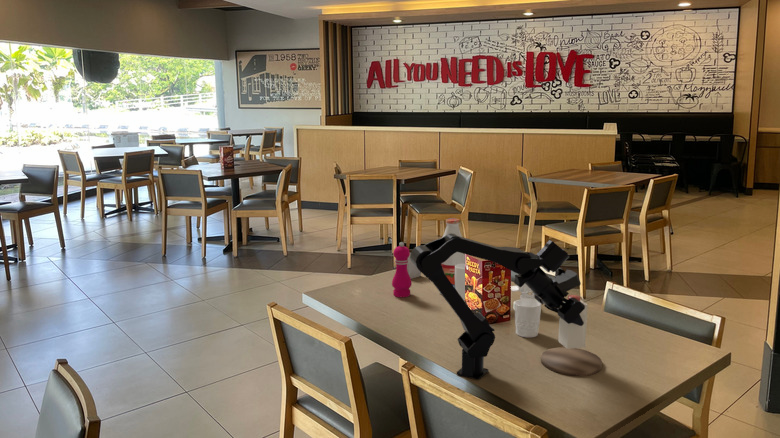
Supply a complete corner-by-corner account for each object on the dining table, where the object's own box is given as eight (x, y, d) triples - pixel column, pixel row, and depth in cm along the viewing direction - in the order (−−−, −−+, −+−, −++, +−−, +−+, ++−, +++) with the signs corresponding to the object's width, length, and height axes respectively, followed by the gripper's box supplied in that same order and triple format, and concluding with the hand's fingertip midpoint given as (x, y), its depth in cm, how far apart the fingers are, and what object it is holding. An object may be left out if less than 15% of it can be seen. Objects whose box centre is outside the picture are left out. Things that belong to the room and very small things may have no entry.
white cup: (521, 327, 197) (522, 296, 195) (544, 332, 192) (545, 301, 190) (509, 334, 191) (510, 303, 189) (532, 340, 186) (533, 308, 184)
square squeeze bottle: (585, 347, 167) (588, 299, 165) (567, 348, 166) (569, 300, 164) (575, 339, 172) (578, 293, 170) (558, 341, 171) (560, 294, 169)
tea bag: (420, 275, 254) (420, 252, 252) (409, 279, 249) (409, 255, 247) (414, 274, 256) (414, 250, 254) (402, 277, 252) (402, 253, 250)
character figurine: (540, 313, 209) (542, 279, 207) (512, 313, 209) (513, 279, 207) (535, 304, 218) (536, 271, 215) (508, 304, 218) (509, 271, 216)
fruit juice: (457, 288, 237) (457, 216, 231) (469, 295, 228) (470, 220, 223) (434, 291, 233) (435, 218, 228) (446, 298, 225) (447, 222, 219)
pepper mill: (389, 296, 228) (389, 243, 224) (395, 291, 234) (394, 239, 230) (408, 298, 226) (408, 244, 222) (413, 292, 232) (413, 240, 228)
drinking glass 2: (473, 311, 211) (473, 269, 208) (453, 310, 213) (453, 268, 210) (474, 305, 218) (475, 263, 215) (455, 304, 219) (455, 262, 216)
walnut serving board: (592, 381, 160) (592, 376, 159) (532, 366, 168) (532, 362, 168) (608, 359, 173) (608, 354, 172) (552, 346, 181) (552, 343, 181)
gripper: (579, 271, 155) (617, 310, 159) (546, 253, 173) (580, 289, 177) (549, 304, 155) (587, 342, 159) (518, 282, 173) (553, 317, 177)
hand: (577, 320), depth 168 cm, fingers closed on square squeeze bottle, 5 cm apart
